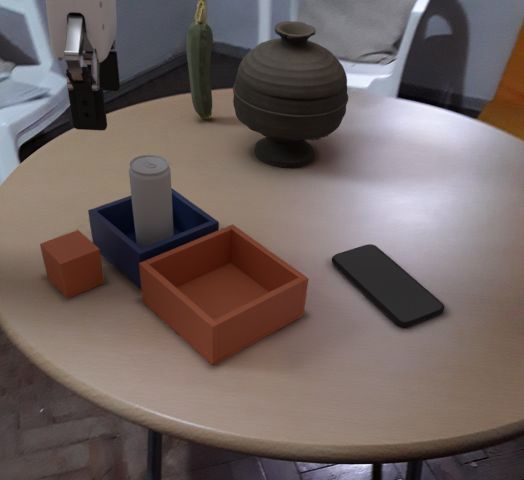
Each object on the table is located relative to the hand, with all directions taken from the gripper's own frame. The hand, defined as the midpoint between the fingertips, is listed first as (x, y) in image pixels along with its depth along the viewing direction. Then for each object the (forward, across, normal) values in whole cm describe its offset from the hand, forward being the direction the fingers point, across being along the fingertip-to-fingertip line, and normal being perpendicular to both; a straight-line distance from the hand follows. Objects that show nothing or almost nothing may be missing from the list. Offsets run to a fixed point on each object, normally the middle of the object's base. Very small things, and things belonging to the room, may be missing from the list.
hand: (98, 108), depth 65 cm
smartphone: (+20, +3, +34) cm, 39 cm away
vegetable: (+20, -44, +9) cm, 49 cm away
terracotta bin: (+20, +8, +13) cm, 25 cm away
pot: (+20, -32, +23) cm, 45 cm away
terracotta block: (+20, +3, -5) cm, 21 cm away
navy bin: (+20, -3, +5) cm, 21 cm away
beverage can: (+20, -3, +5) cm, 21 cm away
